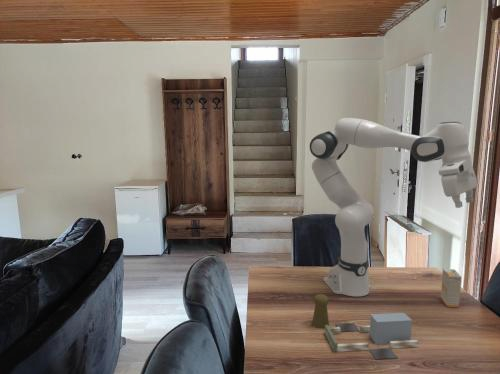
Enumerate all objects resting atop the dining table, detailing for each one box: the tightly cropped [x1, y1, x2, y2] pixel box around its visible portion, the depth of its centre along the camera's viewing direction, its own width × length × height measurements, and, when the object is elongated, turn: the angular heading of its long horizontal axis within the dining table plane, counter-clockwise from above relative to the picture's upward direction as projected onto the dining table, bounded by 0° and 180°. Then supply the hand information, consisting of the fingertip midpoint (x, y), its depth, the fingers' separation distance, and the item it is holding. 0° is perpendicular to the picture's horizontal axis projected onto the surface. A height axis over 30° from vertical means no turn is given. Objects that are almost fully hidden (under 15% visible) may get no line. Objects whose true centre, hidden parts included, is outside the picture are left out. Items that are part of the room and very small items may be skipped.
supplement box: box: [440, 268, 462, 308], centre depth 147 cm, size 8×5×13 cm, turn 168°
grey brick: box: [369, 312, 413, 345], centre depth 122 cm, size 12×5×8 cm, turn 95°
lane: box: [324, 322, 419, 360], centre depth 122 cm, size 28×21×3 cm
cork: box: [311, 293, 330, 329], centre depth 132 cm, size 6×6×11 cm
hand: (464, 204), depth 128 cm, fingers open, 8 cm apart
